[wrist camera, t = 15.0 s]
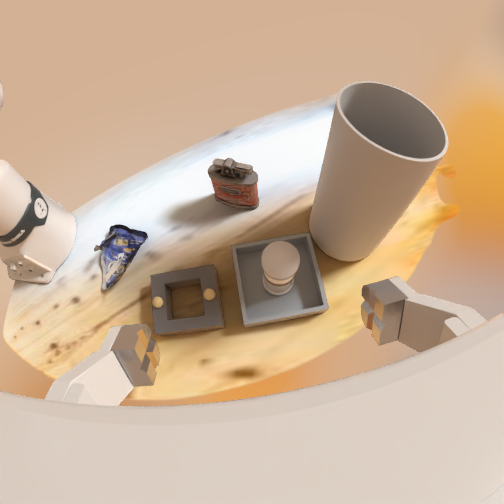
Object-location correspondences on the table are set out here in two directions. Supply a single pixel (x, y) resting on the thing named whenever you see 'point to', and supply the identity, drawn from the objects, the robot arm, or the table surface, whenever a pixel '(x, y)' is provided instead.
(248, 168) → the lighter
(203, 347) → the table surface
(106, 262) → the snack package
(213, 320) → the block
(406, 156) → the cylinder vase
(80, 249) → the table surface
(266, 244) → the tray
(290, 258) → the ball
